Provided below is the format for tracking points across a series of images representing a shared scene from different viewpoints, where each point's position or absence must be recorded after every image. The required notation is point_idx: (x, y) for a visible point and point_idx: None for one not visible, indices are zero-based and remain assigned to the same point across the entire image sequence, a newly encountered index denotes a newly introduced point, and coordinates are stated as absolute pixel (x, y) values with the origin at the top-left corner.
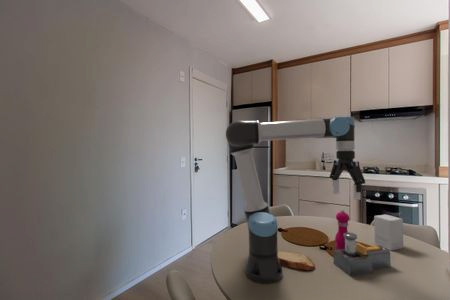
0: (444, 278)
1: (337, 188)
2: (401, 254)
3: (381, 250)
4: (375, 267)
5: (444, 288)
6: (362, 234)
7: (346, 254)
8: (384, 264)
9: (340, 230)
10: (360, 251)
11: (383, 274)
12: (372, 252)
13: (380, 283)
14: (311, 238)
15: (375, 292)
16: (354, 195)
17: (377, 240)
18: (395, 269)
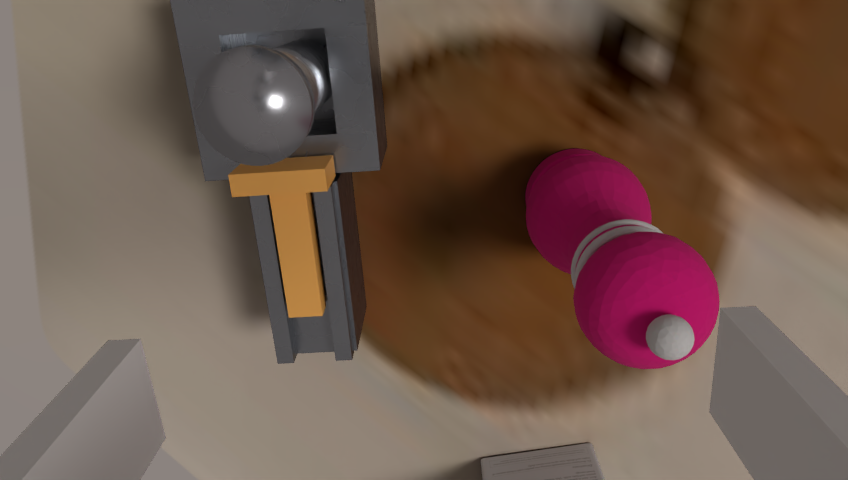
0: (180, 460)
1: (766, 450)
2: (429, 474)
3: (277, 310)
4: None
5: None
6: (750, 474)
7: (286, 45)
8: None
9: (594, 214)
10: (280, 161)
11: (221, 212)
12: (255, 231)
13: (129, 124)
14: (825, 50)
15: (40, 28)
16: (82, 385)
17: (575, 465)
18: None
